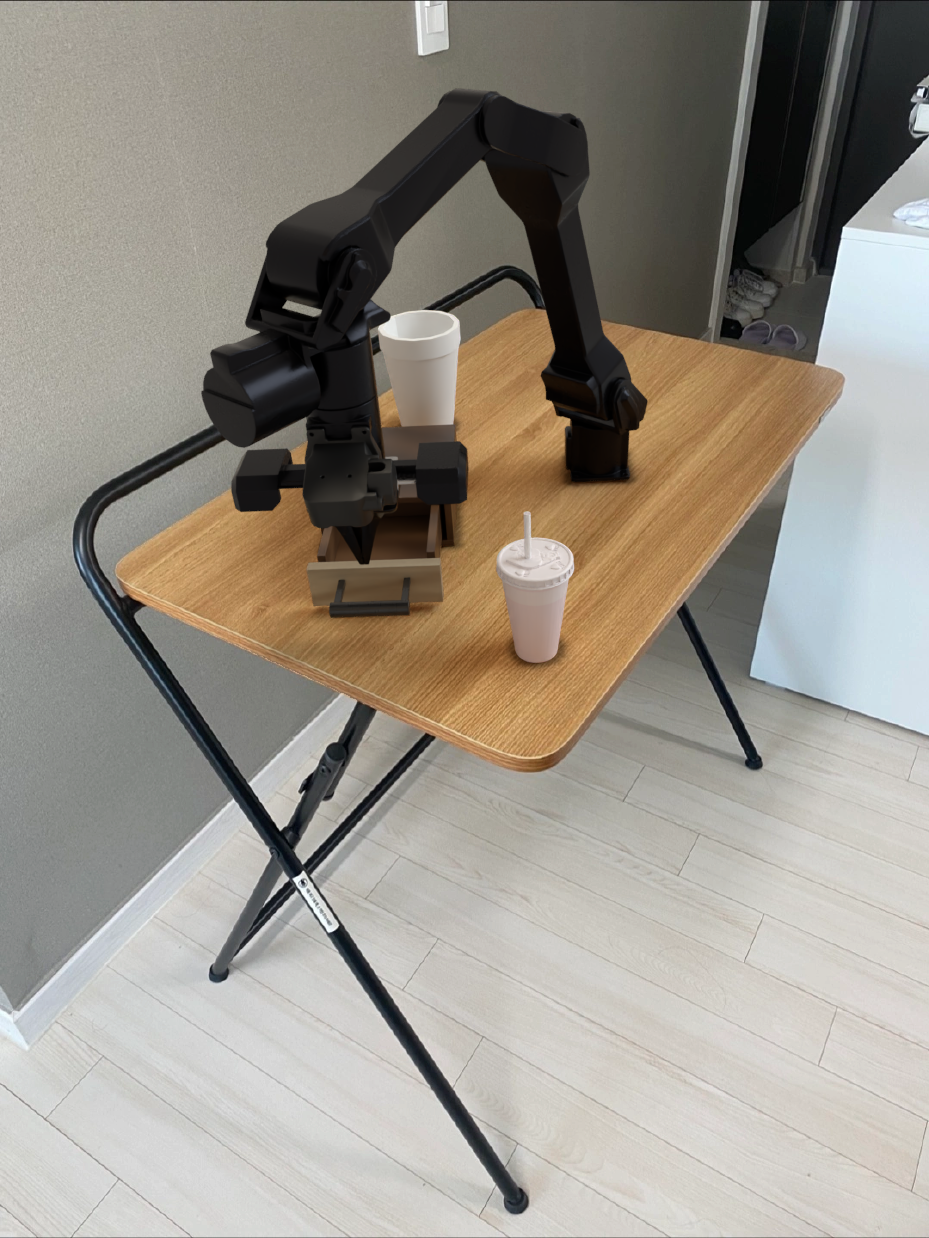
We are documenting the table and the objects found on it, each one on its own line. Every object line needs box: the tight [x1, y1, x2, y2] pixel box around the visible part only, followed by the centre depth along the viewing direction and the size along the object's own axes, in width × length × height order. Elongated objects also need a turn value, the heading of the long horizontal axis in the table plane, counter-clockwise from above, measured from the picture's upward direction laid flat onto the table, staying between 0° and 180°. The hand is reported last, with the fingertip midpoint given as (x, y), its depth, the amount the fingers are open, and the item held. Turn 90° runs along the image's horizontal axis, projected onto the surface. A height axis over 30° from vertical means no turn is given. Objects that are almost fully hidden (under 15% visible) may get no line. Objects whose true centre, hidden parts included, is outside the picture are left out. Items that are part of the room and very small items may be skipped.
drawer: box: [306, 502, 445, 619], centre depth 92 cm, size 19×12×4 cm, turn 178°
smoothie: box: [495, 511, 575, 664], centre depth 80 cm, size 6×6×14 cm
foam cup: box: [377, 309, 461, 427], centre depth 115 cm, size 10×9×13 cm
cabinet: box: [320, 423, 458, 547], centre depth 102 cm, size 15×13×6 cm
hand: (365, 562), depth 83 cm, fingers closed
